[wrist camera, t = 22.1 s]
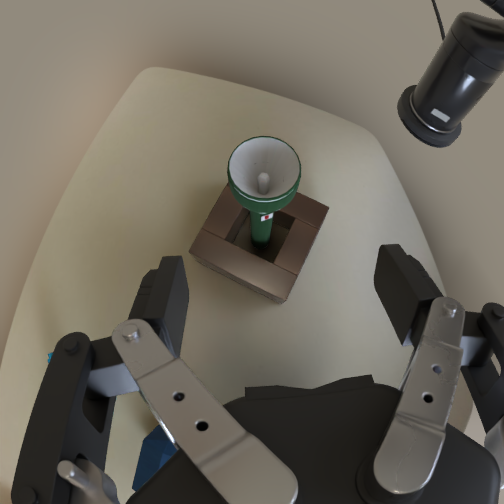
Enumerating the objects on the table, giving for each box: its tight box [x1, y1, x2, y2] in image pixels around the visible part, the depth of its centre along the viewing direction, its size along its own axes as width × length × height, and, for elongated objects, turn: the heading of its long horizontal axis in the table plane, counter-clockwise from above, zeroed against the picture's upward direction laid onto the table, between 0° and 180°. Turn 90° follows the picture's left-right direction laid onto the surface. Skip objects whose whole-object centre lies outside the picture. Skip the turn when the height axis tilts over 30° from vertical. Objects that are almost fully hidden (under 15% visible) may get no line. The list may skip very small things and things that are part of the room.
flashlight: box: [227, 136, 301, 249], centre depth 31 cm, size 5×5×20 cm
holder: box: [189, 181, 329, 304], centre depth 38 cm, size 12×12×5 cm
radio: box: [132, 424, 178, 491], centre depth 25 cm, size 21×9×20 cm, turn 73°
